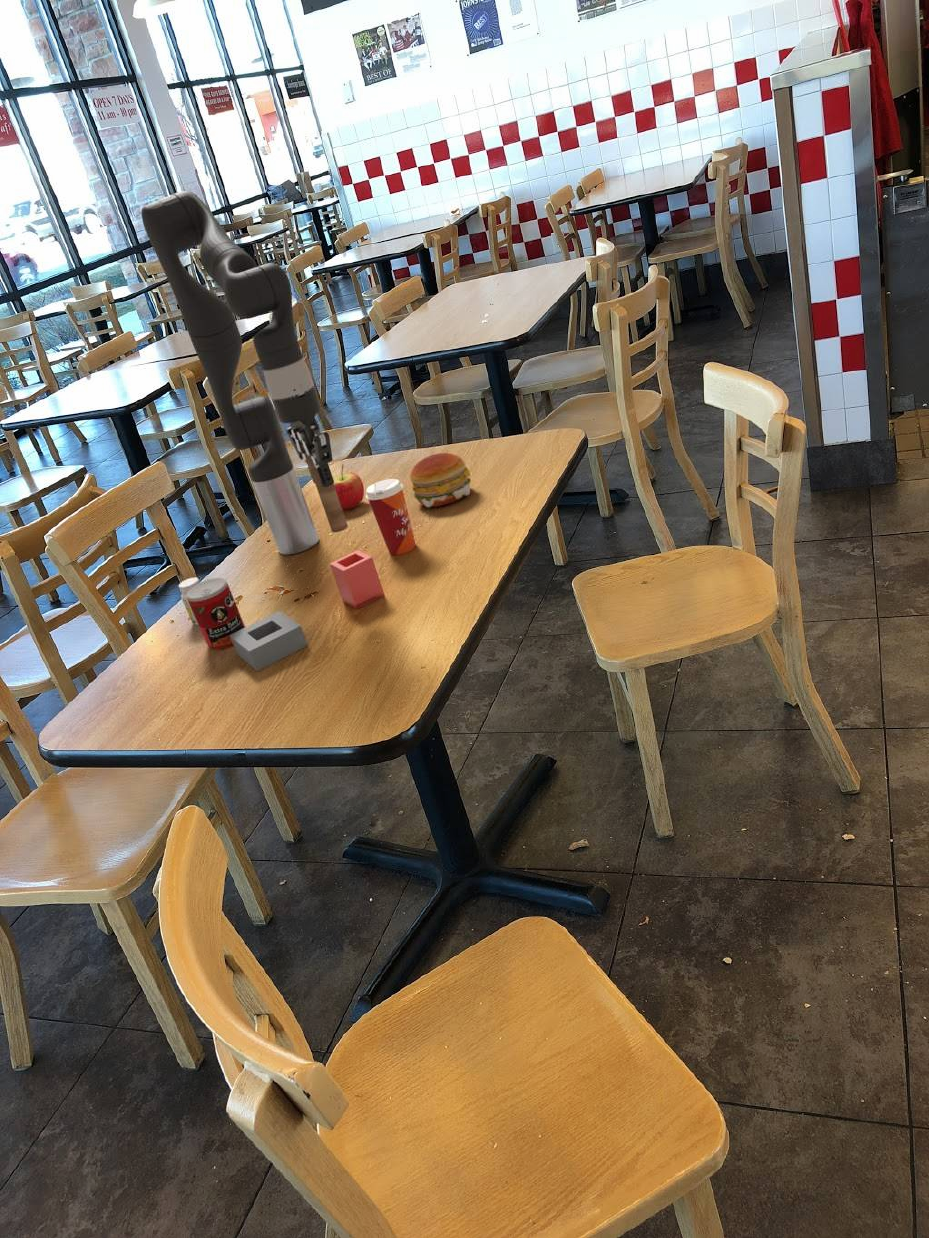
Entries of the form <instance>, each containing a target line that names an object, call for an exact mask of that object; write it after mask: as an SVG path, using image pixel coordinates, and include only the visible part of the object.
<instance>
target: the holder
mask: <svg viewBox="0 0 929 1238" xmlns="http://www.w3.org/2000/svg"><path fill="white" fill-rule="evenodd" d="M230 638H231V640H232V643H233V647H234V650H235V652H236V655H238V656H239V657H240V658H241V659H242V660H243V661H245V662H246V663H247V664H248V665H249V666H251V667H252V668H253V669H254V670H255V671H256V672H259V671H260V670H263V669H265V668H267V667H269V666H270V665H273V664H274V663H276V662H278V661H280V660H282V659H284V658H286V657H288V656H290V655H292V654H294V653H296V652H297V651H300V650H301V649H303V648H306V647H308V646H309V644H308V641H307V639H306V636H305V633H304V631H303V628H302V625H300V624H299V623H297V622H296V621H295V620H293V619H292V618H291V617H289V616H288V615H286V614H285V613H284V612H282V611H280V610H278V611H276V612H274V613H271V614H269V615H268V616H266V617H264V618H262V619H260V620H257V621H256V622H253V623H251V624H250V625H248V626H245V628H243V629H241V630H239V631H237V632H235V633H233V634H231V635H230Z"/></svg>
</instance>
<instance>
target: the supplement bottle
mask: <svg viewBox="0 0 929 1238" xmlns="http://www.w3.org/2000/svg"><path fill="white" fill-rule="evenodd" d="M199 583H201V581H200V580H199V578H198V577H190V578H186V579H185V580H183V581H181V582H180V583H179V584H178V589H179V591H180V593H181V595H180V597H181V600H182V602H183V605H184V608H185V609H186V611H187V613H188V616H189V618H190V620H191V623H192V624H193V625H195V626H199V625H198V623H197V621H196V618H195V616H194V614H193V611H192V609H191V607H190V605H189V602H188V600H187V597H186V594H187V592H188V591H189V590H190V589H191V588H192V587H193V586H195V585H197V584H199Z"/></svg>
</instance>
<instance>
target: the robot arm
mask: <svg viewBox="0 0 929 1238" xmlns="http://www.w3.org/2000/svg"><path fill="white" fill-rule="evenodd" d="M141 220H142V223H143V228H144V230H145V233H146V235H147V237H148V240H149V242H150V244H151V246H152V248H153V250H154V253H155V254H156V257H157V259H158V261H159V263H160V266H161V267H162V270H163V272H164V274H165V275H166V278H167V280H168V281H167V282H168V283H169V284H170V287H171V288H170V289H172V292H173V295H174V298H175V301H176V303H177V305H178V307H179V310H180V313H181V315H182V319H183V322H184V325H185V328H186V330H187V331H186V332H188V333H187V334H188V335H189V339H190V341H191V343H192V347H193V348H194V350H195V352H196V355H197V357H198V359H199V362H200V365H201V367H202V368H203V371H204V374H205V376H206V378H207V381H208V383H209V386H210V389H211V392H212V395H213V398H214V401H215V404H216V406H217V407H216V408H217V409H218V412H219V416H220V419H221V423H222V425H223V428H224V431H225V434H226V435H227V438H228V441H229V442H230V444H231V445H232V447H233V448H234V449H236V450H238V451H244V450H247V449H251V448H254V447H257V446H259V445H263V444H266V443H268V447H267V448H266V449H265V451H264V452H263V453H262V454H261V455H260V456H259V457H258V458H256V459H255V460H254V461H253V462H252V463H250V464H249V467H248V474H249V477H250V480H251V481H252V484H253V487H254V490H255V493H256V494H257V498H258V500H259V503H260V506H261V508H262V510H263V513H264V515H265V518H266V521H267V524H268V526H269V528H270V532H271V534H272V537H273V540H274V542H275V545H276V547H277V550H278V552H279V554H281V555H286V556H289V555H294V554H299V553H301V552H305V551H306V550H308V549H310V548H312V547H314V546H315V545H316V544H317V543H318V542H319V540H320V538H319V534H318V532H317V528H316V527H315V524H314V521H313V518H312V515H311V512H310V510H309V506H308V504H307V501H306V499H305V496H304V492H303V490H302V487H301V485H300V482H299V479H298V476H297V474H296V471H295V468H294V465H293V462H292V460H291V457H290V454H289V452H288V449H287V446H286V443H285V440H284V438H283V437H284V436H283V433H282V430H281V427H280V426H281V425H280V423H282V424H290V427H288V428H286V429H285V431H286V434H287V436H288V438H289V440H290V442H291V444H292V445H293V447H294V450H295V452H296V454H297V455H298V458H299V459H300V460H301V461H302V460H303V462H304V464H305V465H307V468H308V471H309V473H310V476H311V479H312V482H313V484H315V482H314V479H313V476H312V473H311V470H310V467H309V464H308V461H307V459H306V456H305V452H306V453H307V455H308V456H311V458H312V460H313V463H314V466H315V467H316V471H317V474H318V477H319V480H320V482H321V485H322V486H323V487H328V486H330V485H332V484H333V483H334V480H333V478H334V477H333V474H332V472H331V468H330V466H329V464H330V463H332V462H333V461H334V459H333V453H332V446H331V445H332V444H331V440H330V434H329V433H328V432H327V431H325V432H322V431H323V430H322V428H321V425H320V424H319V423H318V422H317V419H316V415H317V414H318V413H320V412H321V410H322V405H321V402H320V399H319V397H318V392H317V390H316V387H315V384H314V381H313V378H312V375H311V372H310V370H309V369H310V368H308V367H309V366H308V365H307V363H306V361H305V358H304V356H303V354H302V350H301V347H300V345H299V340H298V338H297V334H296V330H295V329H296V328H295V321H294V315H293V313H294V311H293V294H292V292H293V291H292V287H291V286H292V285H291V281H290V279H289V276H288V274H287V273H286V271H285V270H284V269H283V268H282V267H281V266H280V265H279V264H276V263H275V262H268V263H265V264H262V265H257V263H256V261H255V260H254V258H252V256H251V255H250V254H249V253H247V252H246V251H245V250H244V249H243V248H242V247H240V246H239V245H238V244H237V243H236V242H235V241H234V240H232V239H231V237H230V236H229V235H228V234H227V232H226V231H225V229H224V228H223V226H222V225H221V223H220V222H219V221H218V219H217V218H216V217H215V216H214V213H212V212H211V210H210V209H209V207H208V206H207V205H206V203H204V201H203V200H202V199H201V198H200V196H198V195H197V194H195V193H194V192H193V191H189V190H183V191H178V192H175V193H173V194H170V195H167V196H164V197H162V198H160V199H158V200H156V201H155V200H154V201H152V202H150V203H148V204H146V205H144V206H143V207H142V209H141ZM198 246H200V251H199V256H200V257H199V259H200V263H201V265H202V268H203V270H204V272H205V273H206V274H207V275H208V276H209V277H210V278H211V279H212V280H213V282H215V283H216V284H217V285H218V286H219V287H220V288H221V290H222V292H223V294H224V297H225V299H226V302H225V301H224V300H223V299H221V298H220V296H218V295H217V294H216V293H214V292H213V291H211V290H210V289H208V288H207V287H206V286H205V285H203V284H202V283H200V282H199V281H198V280H197V279H196V278H195V277H194V276H192V275H191V273H190V272H189V271H188V270H187V269H186V268H185V266H184V265H183V263H182V262H181V259H180V257H179V255H180V254H181V253H183V252H185V251H187V250H190V249H192V248H195V247H198ZM270 312H271V314H272V315H271V320H270V322H269V323H268V324H267V325H266V326H265V327H263V328H262V329H260V330H259V331H258V332H256V333H255V335H254V336H253V339H252V342H253V346H254V348H255V351H256V355H257V357H258V360H259V363H260V366H261V369H262V373H263V375H264V381H265V385H266V387H267V390H268V392H269V395H270V398H271V400H270V399H269V398H267V396H263V395H262V396H257V397H255V398H254V397H253V398H251V399H248V400H245V401H241V402H239V403H236V404H234V403H233V387H234V381H235V376H236V373H237V369H238V365H239V362H240V358H241V354H242V348H243V341H242V335H241V334H240V330H239V327H238V324H237V322H236V319H235V317H234V315H235V316H236V317H238V318H240V319H245V320H246V319H247V320H248V319H253V318H256V317H259V316H261V315H265V314H267V313H270ZM271 401H272V402H271ZM279 422H280V423H279ZM313 448H315V449H313ZM311 449H313V450H311Z"/></svg>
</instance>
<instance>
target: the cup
mask: <svg viewBox="0 0 929 1238" xmlns="http://www.w3.org/2000/svg"><path fill="white" fill-rule="evenodd" d="M329 566H330V569H331V572H332V574H333V576H334V579H335V583H336V586H337V588H338V591H339V594H340V597H341V600H342V602H343V603H345V604H347V605H348V606H350V607H352V608H354V609H356V610H359V609H361V608H363V607H365V606H367V605H370V604H371V603H372V602H375V601H376V600H378V599H380V598H382V597H385V596H386V595H385V592H384V589H383V586H382V583H381V580H380V578H379V574H378V572H377V569H376V568H377V567H376V566H375V562H374V559H373V557H372V556H370V555H369V554H367V553H364V552H362V551H361V550H358V549H357V550H355V551H353V552H351V553H349V554H347V555H345V556H343V557H340V558H339V559H336V560H335V561H332V562H329Z"/></svg>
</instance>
